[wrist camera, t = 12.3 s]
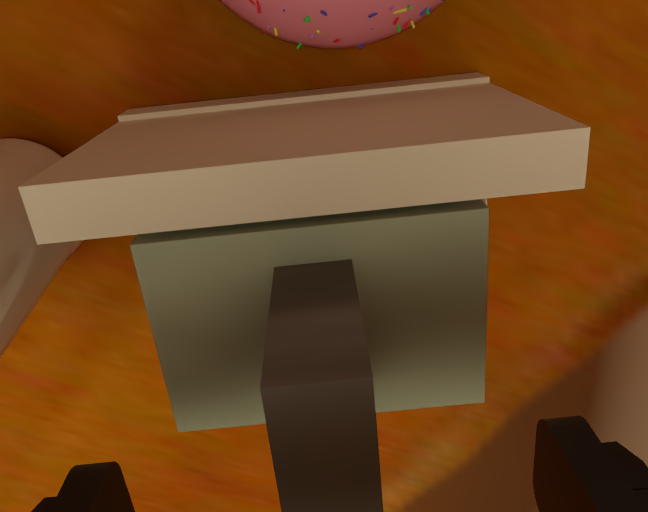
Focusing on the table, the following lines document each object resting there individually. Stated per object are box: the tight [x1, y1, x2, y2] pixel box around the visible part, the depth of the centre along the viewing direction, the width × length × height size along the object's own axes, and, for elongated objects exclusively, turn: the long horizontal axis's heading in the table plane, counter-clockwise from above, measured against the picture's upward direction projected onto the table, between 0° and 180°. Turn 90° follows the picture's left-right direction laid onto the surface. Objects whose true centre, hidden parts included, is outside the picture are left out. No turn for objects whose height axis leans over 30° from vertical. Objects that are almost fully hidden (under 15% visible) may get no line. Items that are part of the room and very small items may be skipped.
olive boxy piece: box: [130, 199, 489, 512], centre depth 17 cm, size 6×9×13 cm, turn 96°
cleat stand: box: [18, 72, 590, 245], centre depth 20 cm, size 10×14×10 cm
